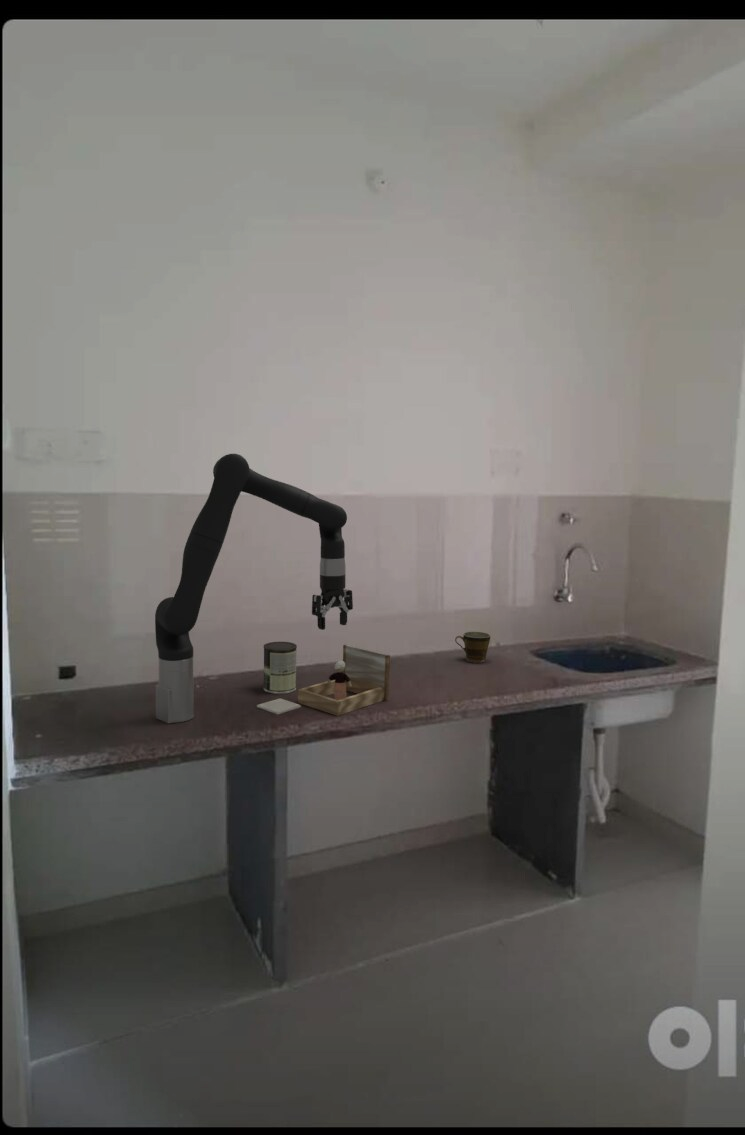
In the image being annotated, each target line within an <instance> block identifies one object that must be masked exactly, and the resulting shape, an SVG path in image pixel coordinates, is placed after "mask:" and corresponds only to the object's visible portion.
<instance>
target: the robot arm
mask: <svg viewBox="0 0 745 1135" xmlns="http://www.w3.org/2000/svg"><path fill="white" fill-rule="evenodd" d="M212 473H213V480H212V481H213V482H212V485H211V488H210V492H209V494H208V498H207V500H206V502H205V503H204V505H203V506H202V508H201V510H200V512H199V514H198V515H197V517H196V519H195V521H194V523H193V525H192V528H191V530H190V532H189V534H188V537H187V539H186V542H185V545H184V550H183V553H182V554H183V555H182V562H181V563H182V566H181V575H180V580H179V583H178V586H177V588H176V591H175V594H174V595H173V596H171V597H170V596H169V597H166V598H164V599H162V600H161V601H160V602H159V603H158V605H157V607H156V610H155V615H154V625H155V626H154V627H155V628H154V629H155V645H156V647H157V652H158V683H157V684H156V685H155V719H157V720H158V721H159V720H160V721H162V722H164V723H166V724H172V723H173V724H174V723H182V722H187V721H190V720H192V719H193V718H194V716H195V714H194V713H195V712H194V710H195V708H194V698H195V697H194V694H195V693H194V647H193V644H192V642H191V638H190V632H191V630H193V629H194V627H195V625H196V623H197V620H198V617H199V613H200V610H201V606H202V602H203V599H204V598H203V597H204V594H205V591H206V588H207V585H208V583H209V580H210V578H211V575H212V574H213V570H214V567H215V565H216V562H217V560H218V557H219V555H220V552H221V549H222V548H223V545H224V542H225V539H226V536H227V532H228V531H229V530H228V529H229V526H230V521H231V518H232V514H233V511H234V510H235V509H234V507H235V506H236V503H237V501H238V499H239V496H240V495H241V493H245V494H249V495H251V496H254V497H257V498H259V499H262V500H264V501H267V502H269V503H271V504H273V505H275V506H278V507H279V508H282V509H284V510H286V511H288V512H290V513H292V514H295V515H297V516H300V517H303V518H305V519H309V520H311V521H313V522H316V523H317V524H318V530H319V536H320V562H319V589H320V590H321V593H320V594H319V595H318V594H312V596H311V598H312V600H311V615H312V616H316V617H317V628H318V630H321V631H322V630H325V629H326V617H325V616H326V615H327V613H328V612H329V611H330V609H333V608H338V610H339V625H341V626H347V622H348V612H349V611H352V610H354V608H353V607H354V604H353V603H354V600H353V591H352V590H350V589H346V559H345V556H346V551H345V550H346V549H345V548H346V546H345V541H344V540H345V539H344V538H343V534H342V528H344V526H345V525H346V523H347V520H348V515H347V513H346V510H345V509H344V508H343V507H341V506H340V505H338V504H336V503H332V502H330V501H327V500H325V499H322V498H319V497H317V496H316V495H314V494H312V493H310V492H308V491H306V490H304V489H302V488H299V487H296V486H294V485H291V484H290V483H285V482H282V481H279V480H275V479H273V478H270V477H267V476H265V475H262V474H261V473H258V472H257V471H255V470H253V468H252V469H251V468H250V465H249V463H248V461H247V458H245V457H244V456H242V455H241V454H238V453H227V454H225V455H222V456H221V457H220V458H219V459H218V460H217V461H216V462H215V464H214V466H213V470H212Z"/></svg>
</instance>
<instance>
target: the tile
mask: <svg viewBox="0 0 745 1135" xmlns="http://www.w3.org/2000/svg"><path fill="white" fill-rule="evenodd" d="M301 707H302V704H300V703H295V702H292V701H289V700H286V699H284V698H280V697H279V698H277V699H273V700H270V701H266V702H263V703H260V704H257V705H256V708H257V709H258V708H259V709H261V710H264V711H267V712H270V713H272V714H275V715H280V714H284V713H286V712H290V711H293V710H297V709H299V708H301Z"/></svg>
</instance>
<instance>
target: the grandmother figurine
mask: <svg viewBox="0 0 745 1135" xmlns="http://www.w3.org/2000/svg"><path fill="white" fill-rule="evenodd" d="M333 668H334V669H335V670H336V672H333V673H332V674H330V675H329V676H328V679H327V680H326V681H327V683H328V684H330V683H331V681H332V680H335V683H334V693H333V699H335V700H340V699H344V698H347V690H346V683H345V680H346V682H347V683H348V686H349V687H352V685H351V681H350V679H349V677H348V676H347V675H346V674H345V673H343V671H344V669H345V662H344V661H343V660H338V661H337V662H336V663H335V664H334V667H333Z"/></svg>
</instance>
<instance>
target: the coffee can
mask: <svg viewBox="0 0 745 1135" xmlns="http://www.w3.org/2000/svg"><path fill="white" fill-rule="evenodd" d="M297 648H298V645H297V644H296V643H293V642H290V641H271V642H267V643H265V644H263V688H262V689H263V691H265V692H266V693H269V694H275V695H276V694H277V695H278V694H279V695H282V694H289V693H292V692H295V691H296V690H297V686H296V685H297V681H296V680H297Z"/></svg>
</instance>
